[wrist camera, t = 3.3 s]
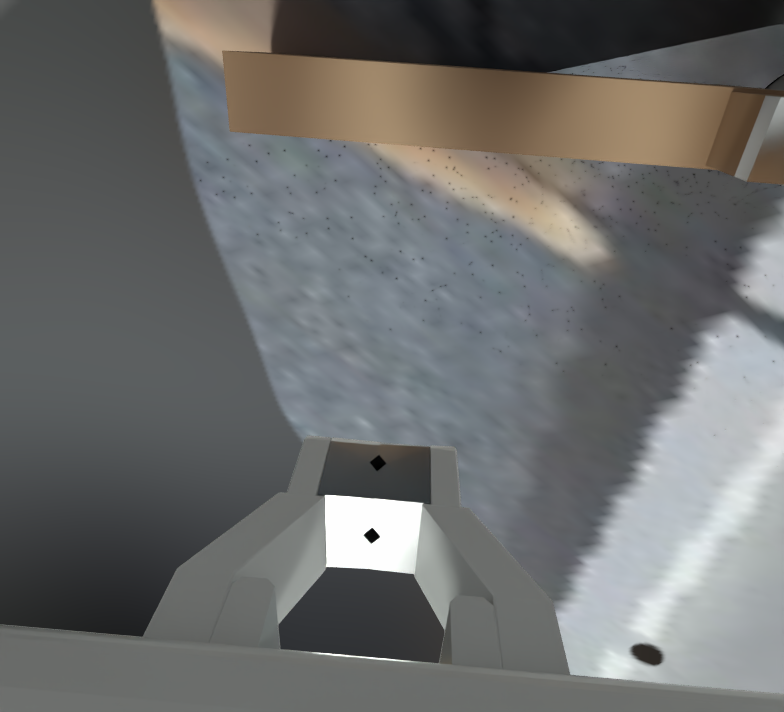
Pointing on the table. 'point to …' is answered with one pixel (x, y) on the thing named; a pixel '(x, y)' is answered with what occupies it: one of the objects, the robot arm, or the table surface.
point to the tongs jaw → (509, 112)
